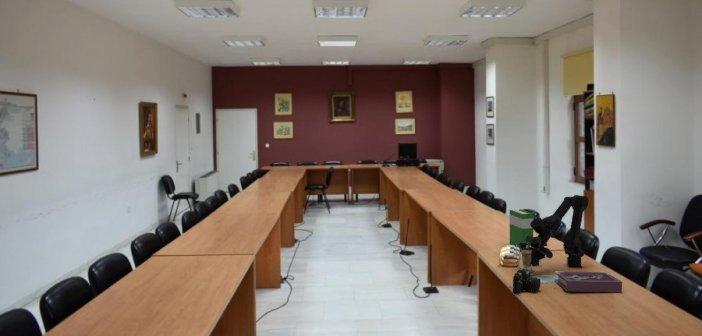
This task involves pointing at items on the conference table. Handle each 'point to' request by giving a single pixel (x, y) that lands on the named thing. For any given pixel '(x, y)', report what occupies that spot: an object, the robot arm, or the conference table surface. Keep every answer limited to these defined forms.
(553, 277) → the flat light blue board
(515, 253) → the diorama
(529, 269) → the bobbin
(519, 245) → the robot arm
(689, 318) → the conference table surface
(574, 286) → the book
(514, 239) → the hardback book
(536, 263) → the coffee mug
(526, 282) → the film camera
